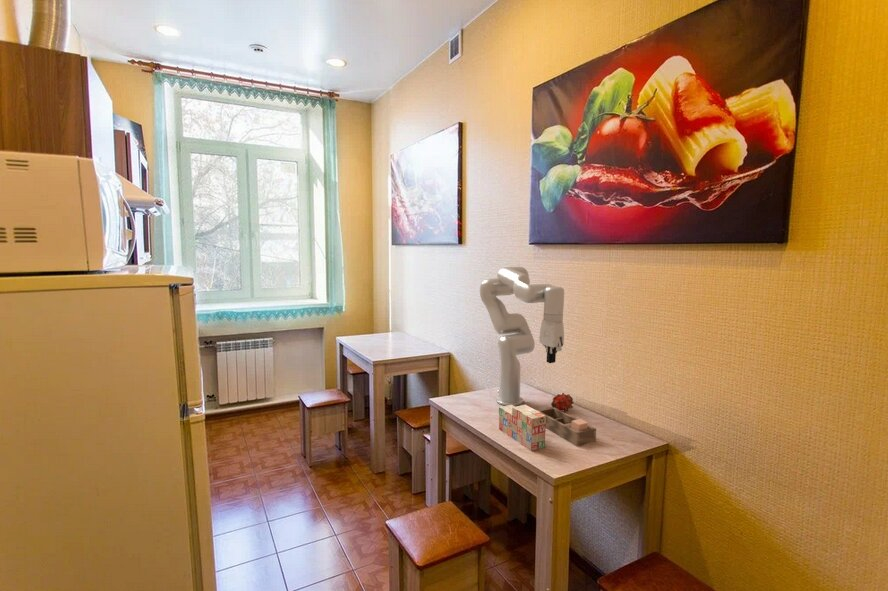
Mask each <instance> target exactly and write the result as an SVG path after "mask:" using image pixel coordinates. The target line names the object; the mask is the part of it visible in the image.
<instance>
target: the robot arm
mask: <svg viewBox="0 0 888 591" xmlns="http://www.w3.org/2000/svg"><path fill="white" fill-rule="evenodd" d="M496 276H497V277H496V278H488V279H485V280H483V281H481V283H480V286H479V295H480V300H481V301H482V302H483V305H484V306H485V308H486V310H487V313H488V315H489V318H490V320H491V323H492V325H493V326H492V327H493V329H494V330H495V332H496V334H498V335H502V336H501V337H500V338H499V339H498V341H497V350H498V356H499V389H497V390H496V391H497V392H496V393H498V396H496V398H495V401H496V403H498V404H499V405H501V406H507V405H513V406H515V407H516V406H521V405H523V403H524V398H523V397H521V362H520V360H519V359H518V357H517V356H519V355H525V354H530V353H532V352H533V351H534V350H535V344H536V343H535V340H534V337H533V334H532V331H531V328H530V327H529V324H528V321H527V319H526V317H525V316H524V315H522V314H521V313H517V312H516V313H515V312H514V313H509V312H508V310H507V307H506V305H505V304H504V302H503V301H502V300H501V299H499V298H498V296H499V297H500V296H502V297H504V296H511V295H514V296H515V297H516V299H518V300H520V301H521V302H524V303H527V304H535V303H536V304H537V303H538V304H539V303H543V316H542V317H543V319H542V320H541V323H540V331H539V337H538V339H539V340H538V341H539V343H540V344H541V345H542V346H543V347H544V348H545V353H546V363H548V364H554V363H556V357H557V353H558V352H561V351H562V350H563V349H562V347H564V345H565V344H564V343H565V330H564V328H565V327H564V305H565V304H564V303H565V289H564V288H563V287H562V286H556V285H553V284H550V283H535V284H534V283H533V284H530V283H531V280H530V277H529V272H528V270H527V269H526V268H525V267H523V266H505V267H501V268H500V269H499V270H498V272H497V275H496Z"/></svg>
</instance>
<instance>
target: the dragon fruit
mask: <svg viewBox="0 0 888 591" xmlns="http://www.w3.org/2000/svg"><path fill="white" fill-rule="evenodd" d="M574 403H575V402H574V399H573V397H572V396H571V395H570V394H565V393H564V392H562V394H559V393H558V394H556V395H555V396H554V397H553V398H552V402H551V408H556V409H558V410H560V411H562V412H564V413H567V412H568V411H569V409H573V408H574V405H573V404H574Z"/></svg>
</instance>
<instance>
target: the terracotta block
mask: <svg viewBox="0 0 888 591" xmlns="http://www.w3.org/2000/svg"><path fill="white" fill-rule="evenodd" d="M577 419H578V420H573V421H572V424H571V428H572V429H574V430H575V431H577V432H578V431H582V430H587V424H588V422H587V421H585V420H583V419H581V418H577Z"/></svg>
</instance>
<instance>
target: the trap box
mask: <svg viewBox="0 0 888 591" xmlns="http://www.w3.org/2000/svg"><path fill="white" fill-rule="evenodd" d="M537 411H539V412H540V413H542V414H543V415H545V416H546V430H547V431H549V432H551V433H553V434H555V435H557V436H559V438H562V439H563V440H564V441H565V440H566V441H567V442H569V443H571V444H572V445H574V446H576V447H580V446H584V445H587V444H592V443H596V442H597V428H596V427H594V426H592V425H590V424H589V423H587V430H582V431H578V432H577V431H575V430H574V429H572V428H571V424H572V421H573V420H578V419H579V418H576V417H574V416H572V415H570V414H567V412H564V411H560V410H558V409H556V408H553V407H550V408H545V409H539V410H537Z"/></svg>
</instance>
